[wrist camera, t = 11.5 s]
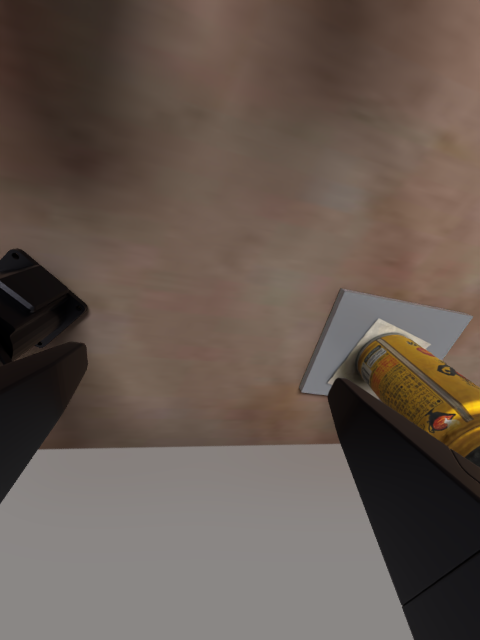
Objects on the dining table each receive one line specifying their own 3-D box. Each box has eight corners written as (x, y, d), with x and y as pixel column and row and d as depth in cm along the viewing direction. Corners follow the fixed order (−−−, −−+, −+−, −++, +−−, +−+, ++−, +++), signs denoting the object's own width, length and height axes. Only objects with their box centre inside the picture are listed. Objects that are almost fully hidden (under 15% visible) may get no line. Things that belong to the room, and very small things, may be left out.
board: (299, 387, 26) (301, 392, 26) (340, 288, 21) (344, 291, 21) (405, 400, 29) (409, 405, 28) (465, 313, 24) (473, 316, 23)
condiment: (429, 343, 24) (599, 455, 13) (375, 399, 27) (477, 527, 16) (377, 316, 22) (524, 422, 11) (325, 380, 25) (403, 510, 14)
